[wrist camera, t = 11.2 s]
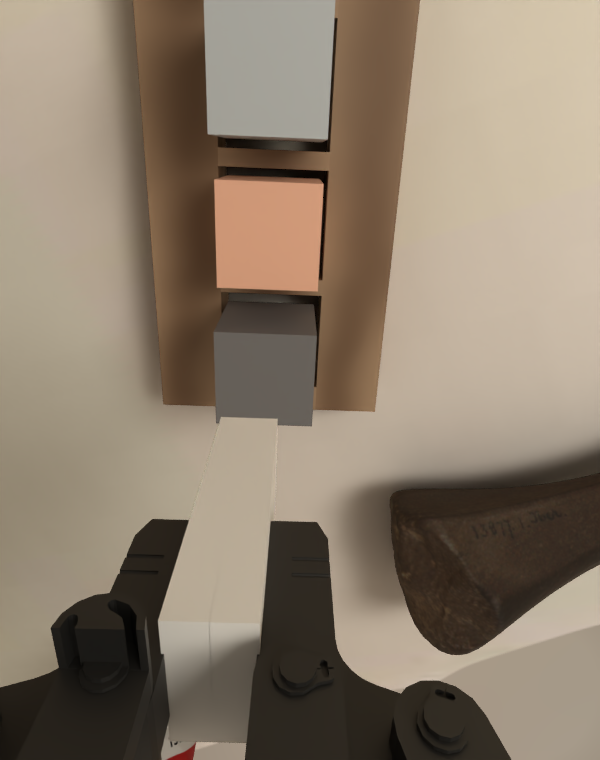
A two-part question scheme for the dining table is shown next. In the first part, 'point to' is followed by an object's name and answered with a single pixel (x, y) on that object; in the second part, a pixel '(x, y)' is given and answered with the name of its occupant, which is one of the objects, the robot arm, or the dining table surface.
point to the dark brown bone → (490, 554)
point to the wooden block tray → (341, 162)
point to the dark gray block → (265, 362)
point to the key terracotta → (268, 232)
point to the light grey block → (269, 68)
